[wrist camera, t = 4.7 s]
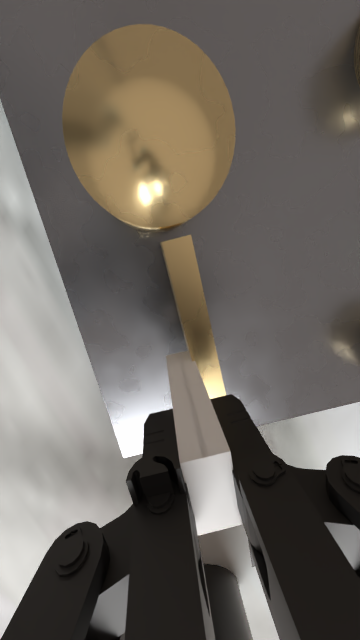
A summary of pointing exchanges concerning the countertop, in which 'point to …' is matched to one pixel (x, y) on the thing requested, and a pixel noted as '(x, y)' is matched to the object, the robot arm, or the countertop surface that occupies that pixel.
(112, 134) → the brass ladle
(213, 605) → the water bottle
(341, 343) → the levelling base
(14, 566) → the countertop surface
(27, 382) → the countertop surface
